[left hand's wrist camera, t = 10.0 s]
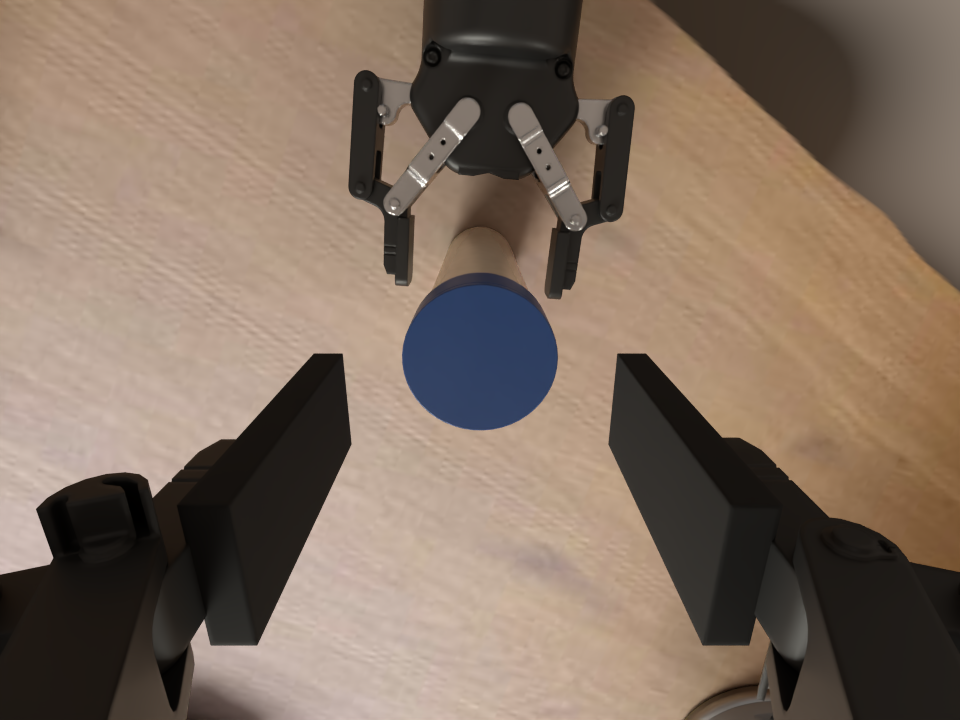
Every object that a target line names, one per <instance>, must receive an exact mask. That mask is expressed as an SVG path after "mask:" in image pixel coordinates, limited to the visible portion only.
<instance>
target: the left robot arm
mask: <svg viewBox="0 0 960 720" xmlns="http://www.w3.org/2000/svg"><path fill="white" fill-rule="evenodd" d="M350 446H351V434H350V424H349V414H348V404H347V394H346V383H345V373H344V363H343V354H313V355H312V356H311V357H310V359H309V360H308V361H307V362H306V363H305V364H304V365H303V366H302V367H301V368H300V370H299V371H298V372H297V373H296V374H295V375H294V376H293V377H292V378H291V380H290V381H289V382H288V383H287V384H286V385H285V386H284V387H283V388H282V389H281V391H280V392H279V393H278V394H277V395H276V396H275V397H274V398H273V399H272V401H271V402H270V403H269V404H268V405H267V406H266V407H265V408H264V409H263V410H262V412H261V413H260V414H259V415H258V416H257V417H256V418H255V419H254V420H253V421H252V423H251V424H250V425H249V426H248V427H247V428H246V429H245V430H244V431H243V433H242V434H241V435H240V436H239V437H238V438H237V439H221V440H219V441H217V442H216V443H214V444H212V445H210V446H209V447H207V448H205V449H203V450H202V451H200V452H198V453H197V454H196V455H195V456H194V457H193V458H192V459H191V460H190V461H189V462H188V463H187V464H186V465H185V466H184V470H180V471H179V472H178V473H177V474H176V475H175V476H174V477H173V478H172V482H168V483H167V484H166V485H165V486H164V487H163V488H162V489H161V490H160V491H159V492H158V493H157V494H156V495H155V496H154V497H153V498H152V494H151V491H150V487H149V483H148V480H147V479H146V478H144V477H143V476H141V475H140V474H133V473H126V472H124V473H113V474H105V475H101V476H97V477H93V478H89V479H85V480H82V481H80V482H77V483H75V484H72V485H70V486H67V487H65V488H63V489H62V490H60V491H58V492H56V493H55V494H53V495H51V496H50V497H48V498H47V499H46V500H45V501H44V502H43V503H42V504H41V505H40V506H39V507H38V508H37V509H36V510H37V513H38V516H39V519H40V522H41V524H42V527H43V530H44V533H45V536H46V538H47V541H48V544H49V547H50V550H51V552H52V555H53V560H52V562H51V564H50V565H46V566H41V567H36V568H31V569H26V570H21V571H16V572H12V573H7V574H2V575H0V720H186V719H187V713H188V706H189V699H190V692H191V685H192V678H193V671H194V657H193V651H192V647H191V643H190V641H191V640H192V638H193V636H194V635H195V633H196V632H197V630H198V628H199V627H200V625H201V623H202V622H203V620H205V624H206V628H207V632H208V636H209V640H210V644H211V645H258V643H259V640H260V638H261V636H262V634H263V632H264V630H265V628H266V626H267V623H268V621H269V619H270V617H271V615H272V613H273V611H274V608H275V606H276V604H277V602H278V600H279V598H280V596H281V594H282V591H283V589H284V587H285V585H286V583H287V581H288V579H289V576H290V574H291V572H292V570H293V568H294V566H295V564H296V562H297V559H298V557H299V555H300V553H301V551H302V549H303V547H304V544H305V542H306V540H307V538H308V536H309V534H310V532H311V530H312V527H313V525H314V523H315V521H316V519H317V517H318V515H319V513H320V510H321V508H322V506H323V504H324V502H325V500H326V498H327V495H328V493H329V491H330V489H331V487H332V485H333V483H334V481H335V478H336V476H337V474H338V472H339V470H340V468H341V466H342V463H343V461H344V459H345V457H346V455H347V453H348V451H349V449H350ZM609 446H610V449H611V451H612V453H613V455H614V457H615V459H616V461H617V463H618V466H619V468H620V470H621V472H622V474H623V476H624V478H625V481H626V483H627V485H628V487H629V489H630V491H631V493H632V495H633V498H634V500H635V502H636V504H637V506H638V508H639V510H640V513H641V515H642V517H643V519H644V521H645V523H646V525H647V527H648V530H649V532H650V534H651V536H652V538H653V540H654V542H655V544H656V547H657V549H658V551H659V553H660V555H661V557H662V559H663V562H664V564H665V566H666V568H667V570H668V572H669V574H670V576H671V579H672V581H673V583H674V585H675V587H676V589H677V591H678V594H679V596H680V598H681V600H682V602H683V604H684V606H685V608H686V611H687V613H688V615H689V617H690V619H691V621H692V623H693V626H694V628H695V630H696V632H697V634H698V636H699V638H700V640H701V643H702V645H749V644H750V640H751V636H752V632H753V628H754V624H755V620H756V617H757V619H758V621H759V622H760V624H761V625H762V627H763V629H764V630H765V632H766V634H767V635H768V637H769V638H770V643H769V647H768V651H767V655H766V659H765V662H764V666H763V670H762V674H761V678H760V682H759V685H758V686H749V687H743V688H738V689H734V690H731V691H727V692H725V693H722V694H719V695H717V696H715V697H713V698H711V699H709V700H707V701H706V702H704V703H703V704H701V705H700V706H698V707H697V708H696V709H694V710H693V711H692V712H691V713H690V714H689V715H688V716H687V717H686V718H685V720H960V572H956V571H951V570H946V569H941V568H936V567H931V566H926V565H921V564H916V563H912V562H909V561H908V559H907V557H906V556H905V555H904V554H903V552H902V551H901V550H900V549H899V548H898V547H897V545H895V544H894V543H893V542H891V541H890V540H888V539H887V538H885V537H884V536H883V535H881V534H880V533H877V532H875V531H873V530H871V529H869V528H867V527H865V526H862V525H860V524H857V523H853V522H850V521H846V520H843V519H838V518H829V517H828V516H827V515H826V514H825V513H824V512H823V511H822V510H821V509H820V508H819V507H818V506H817V505H816V504H815V503H814V502H813V501H812V500H811V499H810V498H809V497H808V496H807V495H806V494H805V493H804V492H803V491H802V490H801V489H800V488H799V487H798V486H797V485H796V484H795V483H794V482H793V481H792V480H789V479H788V478H789V477H788V476H787V475H786V474H785V473H784V472H783V471H782V470H781V469H780V468H776V464H775V463H774V462H773V461H772V460H771V459H770V458H769V457H768V456H767V455H766V454H765V453H764V452H763V451H762V450H760V449H758V448H757V447H755V446H753V445H751V444H750V443H748V442H746V441H744V440H742V439H741V438H722V437H721V436H720V435H719V434H718V433H717V431H716V430H715V429H714V428H713V427H712V426H711V425H710V424H709V423H708V421H707V420H706V419H705V418H704V417H703V416H702V415H701V414H700V413H699V412H698V410H697V409H696V408H695V407H694V406H693V405H692V404H691V403H690V402H689V401H688V399H687V398H686V397H685V396H684V395H683V394H682V393H681V392H680V391H679V389H678V388H677V387H676V386H675V385H674V384H673V383H672V382H671V381H670V380H669V378H668V377H667V376H666V375H665V374H664V373H663V372H662V371H661V370H660V368H659V367H658V366H657V365H656V364H655V363H654V362H653V361H652V360H651V359H650V357H649V356H648V355H647V354H617V363H616V373H615V383H614V394H613V404H612V414H611V424H610V434H609Z"/></svg>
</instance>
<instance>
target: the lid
mask: <svg viewBox="0 0 960 720" xmlns="http://www.w3.org/2000/svg"><path fill="white" fill-rule="evenodd" d="M557 362H558V352H557V345H556V340H555V337H554V334H553V331H552V328H551V326H550V324H549V322H548V320H547V317H546V315H545V313H544V311H543V309H542V307H541V305H540V304H539V303H538V301H537V300H536V298H535V297H534V296H533V295H532V294H531V293H530V292H529V291H528V290H527V289H525V288H524V287H523V286H522V285H520V284H518V283H517V282H515V281H513V280H511V279H509V278H507V277H504V276H500V275H497V274H491V273H468V274H463V275H459V276H456V277H454V278H451V279H449V280H447V281H445V282H443V283H441V284H440V285H439V286H437V287H436V288H434V289H433V290H432V291H431V292H430V293H429V294H428V295H427V296H426V297H425V299H424V300H423V301H422V302H421V304H420V306H419V307H418V309H417V311H416V313H415V315H414V317H413V320H412V322H411V324H410V326H409V329H408V331H407V333H406V336H405V340H404V344H403V352H402V364H403V370H404V375H405V378H406V381H407V384H408V386H409V388H410V390H411V392H412V393H413V395H414V396H415V398H416V399H417V401H418V402H419V403H420V404H421V405H422V406H423V407H424V408H425V409H426V410H427V411H428V412H429V413H431V414H432V415H433V416H435V417H436V418H438V419H440V420H441V421H443V422H445V423H447V424H450V425H452V426H455V427H459V428H463V429H469V430H491V429H497V428H501V427H504V426H507V425H510V424H513V423H515V422H517V421H519V420H521V419H522V418H524V417H525V416H527V415H528V414H529V413H531V412H532V411H533V410H534V409H535V408H536V407H537V406H538V405H539V404H540V403H541V402H542V401H543V399H544V398H545V396H546V395H547V393H548V392H549V390H550V388H551V386H552V383H553V381H554V378H555V374H556V370H557Z"/></svg>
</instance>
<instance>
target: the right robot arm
mask: <svg viewBox="0 0 960 720" xmlns="http://www.w3.org/2000/svg"><path fill="white" fill-rule="evenodd" d="M582 2H583V0H424V12H423V37H422V60H421V65H420V69H419V72H418V74H417V76H416V78H415V80H414V82H413V83H407V82H401V81H395V80H388V79H382V78H379V77H377V76H376V75H375V74H374V73H373V72H371V71H368V70H363V71H360V72H359V73H358V74H357V75H356V77H355V80H354V94H353V112H352V131H351V149H350V168H349V191H350V193H351V195H352V196H353V197H355V198H356V199H360V200H364V201H366V202H368V203H370V204H372V205H374V206H376V207H378V208H379V209H380V210H381V211H382V213H383V215H384V220H385V225H384V267H385V269H386V272H387V274H394V275H395V284H396V285H400V286H409V284H410V283H411V280H412V271H413V245H414V219H415V215H411V206H412V205H413V204H414V203H415V202H416V200H417V199H418V198H419V197H420V195H421V194H422V193H423V192H424V191H425V189H426V188H427V187H428V186H429V185H430V184H431V183H432V181H433V180H434V179H435V178H436V177H437V175H438V174H439V173H440V172H441V171H442V169H443V168H444V167H445V166H447V167H448V168H449V169H451V170H452V171H454V172H456V173H458V174H459V175H470V176H475V175H480V174H485V173H490V174H493V175H496V176H498V177H501V178H504V179H515V180H519V179H520V178H524V177H526V176H528V175H530V174H532V176H533V178H534V180H535V181H536V183H537V185H538V187H539V188H540V190H541V192H542V193H543V194H544V196H545V198H546V199H547V201H548V203H549V205H550V206H551V208H552V210H553V212H554V213H555V215H556V217H557V219H558V221H557V228H552V234H551V242H550V250H549V257H548V265H547V273H546V280H545V294H546V296H547V298H550V299H561V296H562V290H563V289H567V290H570V289H571V288H572V286H573V284H574V282H575V278H576V270H577V265H578V258H579V252H580V245H581V238H582V235H583V233H584V231H585V230H586V229H587V228H589V227H590V226H593V225H596V224H600V223H604V222H614V221H616V220H618V219H619V218H620V217H621V215H622V213H623V206H624V198H625V189H626V180H627V171H628V163H629V154H630V145H631V136H632V128H633V119H634V110H635V105H634V102H633V100H632V99H631V98H630V97H628V96H625V95H622V96H619V97H616V98H614V99H612V100H597V99H578V97H577V94H576V92H575V88H574V82H573V71H574V63H575V56H576V48H577V40H578V33H579V25H580V17H581V9H582ZM408 105H411V107H412V109H413V111H414V113H415V114H416V116H417V118H418V119H419V121H420V123H421V125H422V126H423V128H424V130H425V131H426V133H427V135H428V137H429V138H430V139H429V140H428V142H427V143H426V144H425V145H424V147H423V148H422V149H421V150H420V152H419V153H418V154H417V155H416V157H415V158H414V159H413V160H412V162H411V163H410V164H409V166H408V167H407V169H406V171H405V172H404V173H403V175H402V176H401V177H400V178H399V180H398V181H397V182H396V183H395V185H394V186H392V185H390V184H388V183H386V182H384V181H382V180H381V173H382V160H383V147H384V133H385V126H391V125H393V124H395V123H396V122H397V120H398V117H399V113H400V111H401V110H402V108H404V107H405V106H408ZM575 121H578V122H580V123H581V124H582V125H583V126H584V128H585V135H586V139H587V141H588V142H589V143H591V144H593V145H596V155H595V166H594V177H593V187H592V198H591V199H590V200H587V201H583V202H580V201H579V200H578V198H577V196H576V194H575V192H574V190H573V189H572V187H571V185H570V181H569V179H568V177H567V175H566V173H565V171H564V169H563V167H562V166H561V164H560V162H559V160H558V158H557V156H556V155H555V153H554V151H553V148H554V147H555V146H556V145H557V143H558V142H559V141H560V140H561V139H562V138H563V136H564V135H565V134H566V133H567V132H568V130H569V129H570V128H571V127H572V126H573V124H574V123H575Z"/></svg>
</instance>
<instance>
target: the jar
mask: <svg viewBox="0 0 960 720" xmlns="http://www.w3.org/2000/svg"><path fill="white" fill-rule="evenodd" d="M468 273H491V274H497V275H500V276H504V277H507V278H509V279H511V280H513V281H515V282H517V283H518V284H520V285H522V286H523V287H524V288H525V289H527V287H526V284H525V282H524V279H523V277H522V274H521V272H520V269H519V267H518V264H517V262H516V259H515V257H514V254H513V252H512V249H511V247H510V245H509V243H508V241H507V240H506V239H505V238H504V237H503V236H502V235H501V234H500V233H499V232H497V231H495V230H493V229H490V228H487V227H473V228H469V229H467V230H465V231H463V232H461V233H460V234H459V235H458V236H457V237H456V238H455V239H454V240H453V241H452V243H451V245H450V247H449V249H448V252H447V254H446V257H445V259H444V262H443V264H442V267H441V269H440V272H439V274H438V277H437V279H436V282H435V284H434V287H433V289H434V288H436V287H437V286H439V285H440V284H441V283H443V282H445V281H447V280H449V279H451V278H454V277H456V276H459V275H463V274H468ZM433 289H432V290H433ZM527 290H528V289H527Z"/></svg>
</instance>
